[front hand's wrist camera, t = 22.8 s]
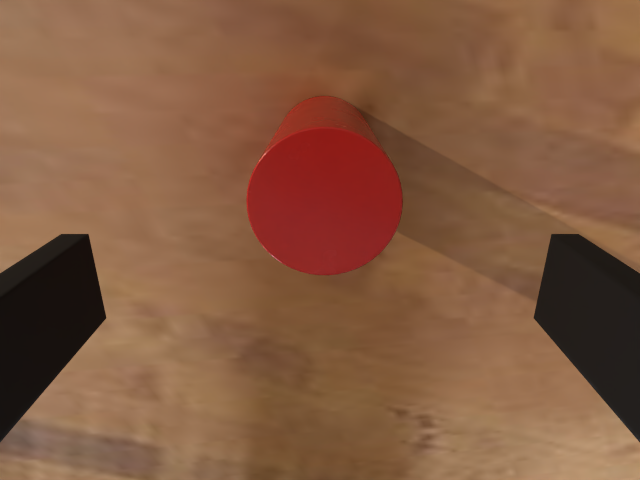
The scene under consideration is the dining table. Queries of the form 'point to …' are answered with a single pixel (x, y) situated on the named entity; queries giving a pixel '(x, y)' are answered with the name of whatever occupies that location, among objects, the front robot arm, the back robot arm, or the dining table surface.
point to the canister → (324, 190)
